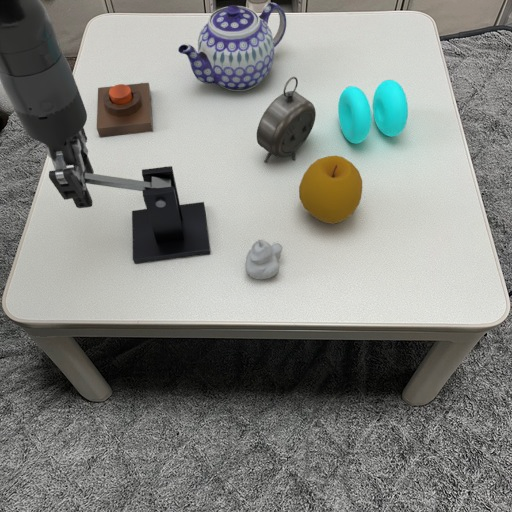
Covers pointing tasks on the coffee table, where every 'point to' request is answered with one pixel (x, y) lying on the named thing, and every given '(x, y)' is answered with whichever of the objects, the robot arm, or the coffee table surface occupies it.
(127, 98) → the button
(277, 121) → the alarm clock
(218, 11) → the teapot
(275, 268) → the grey swirled lump
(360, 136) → the donuts
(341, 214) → the apple
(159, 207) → the lever base
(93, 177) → the t-handle lever
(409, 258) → the coffee table surface
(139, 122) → the switch
